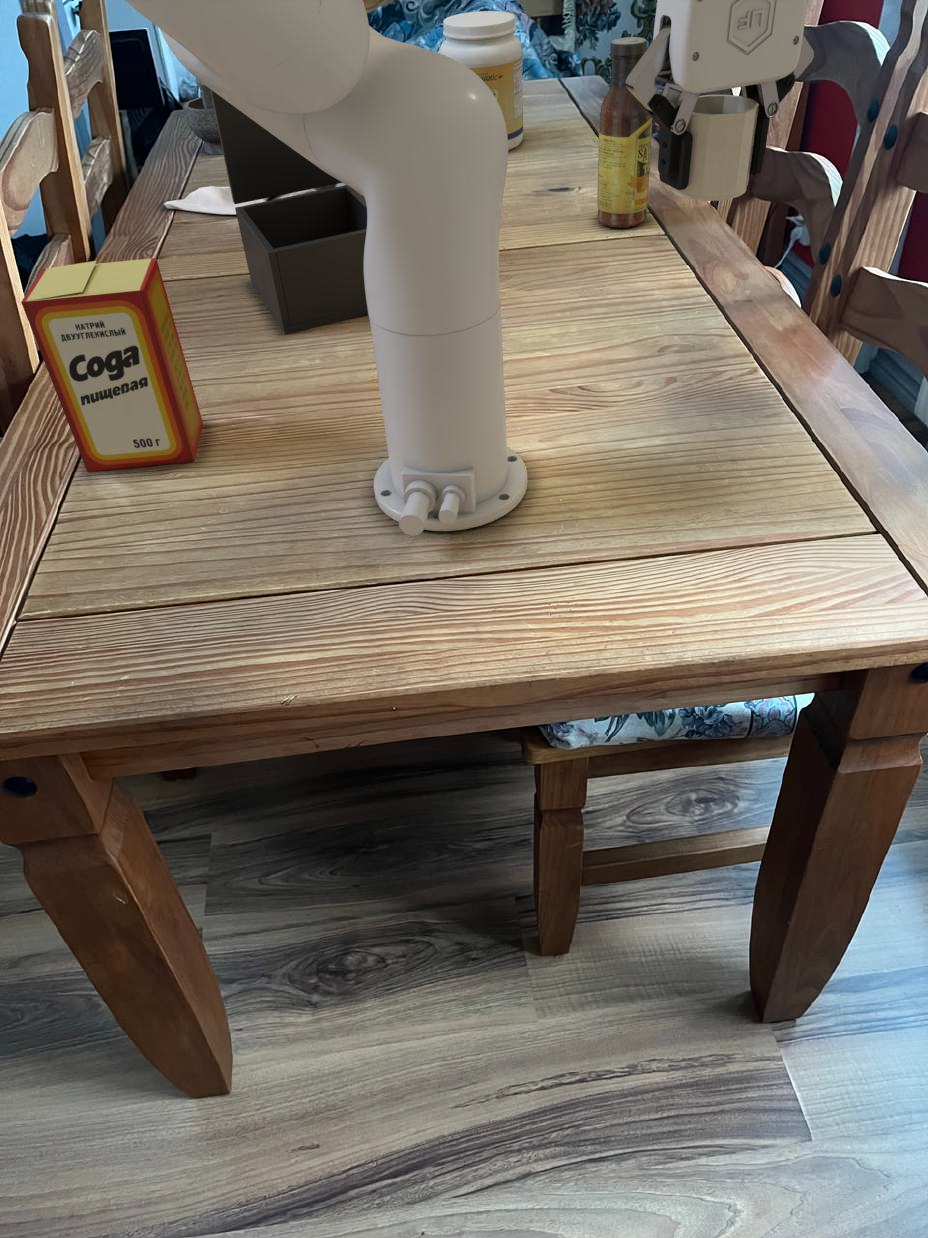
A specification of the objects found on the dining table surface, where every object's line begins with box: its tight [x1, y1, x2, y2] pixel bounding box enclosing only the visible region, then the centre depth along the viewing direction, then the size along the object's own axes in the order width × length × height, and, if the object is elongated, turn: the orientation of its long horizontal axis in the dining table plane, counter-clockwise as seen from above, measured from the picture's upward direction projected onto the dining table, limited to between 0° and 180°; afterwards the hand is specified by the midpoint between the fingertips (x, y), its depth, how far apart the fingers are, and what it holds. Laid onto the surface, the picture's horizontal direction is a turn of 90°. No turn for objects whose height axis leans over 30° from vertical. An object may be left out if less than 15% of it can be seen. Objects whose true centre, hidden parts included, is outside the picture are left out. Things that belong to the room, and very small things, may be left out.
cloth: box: [163, 185, 317, 216], centre depth 136 cm, size 26×14×2 cm, turn 91°
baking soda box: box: [20, 257, 204, 473], centre depth 82 cm, size 10×6×16 cm
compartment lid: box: [210, 89, 343, 204], centre depth 105 cm, size 16×14×5 cm
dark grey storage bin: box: [235, 185, 368, 335], centre depth 107 cm, size 16×14×9 cm
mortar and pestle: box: [183, 77, 223, 155], centre depth 152 cm, size 11×9×12 cm
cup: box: [670, 94, 759, 202], centre depth 74 cm, size 6×6×6 cm
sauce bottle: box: [596, 36, 653, 229], centre depth 115 cm, size 7×6×20 cm
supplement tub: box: [438, 10, 525, 151], centre depth 143 cm, size 12×12×17 cm
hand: (710, 175), depth 75 cm, fingers closed on cup, 5 cm apart
